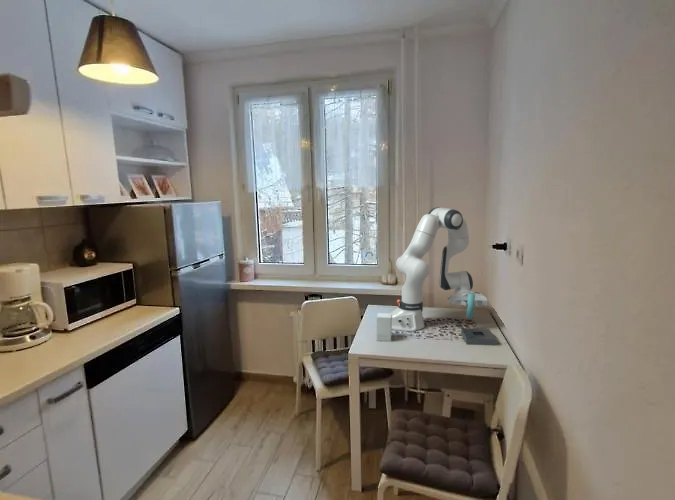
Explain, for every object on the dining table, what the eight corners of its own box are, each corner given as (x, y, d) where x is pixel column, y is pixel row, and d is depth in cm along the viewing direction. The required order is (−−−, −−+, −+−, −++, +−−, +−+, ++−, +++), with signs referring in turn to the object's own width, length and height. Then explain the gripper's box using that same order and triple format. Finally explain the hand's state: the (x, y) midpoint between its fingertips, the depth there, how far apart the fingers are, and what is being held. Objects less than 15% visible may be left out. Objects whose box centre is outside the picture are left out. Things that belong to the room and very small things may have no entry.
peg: (467, 318, 200) (468, 294, 198) (465, 316, 204) (467, 292, 202) (474, 318, 200) (475, 294, 198) (472, 316, 203) (474, 292, 201)
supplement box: (391, 341, 189) (391, 317, 187) (376, 341, 191) (376, 317, 189) (391, 336, 196) (391, 313, 194) (377, 335, 198) (377, 312, 196)
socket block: (466, 344, 184) (466, 338, 184) (461, 333, 198) (461, 328, 198) (496, 345, 183) (496, 339, 182) (488, 334, 196) (489, 329, 196)
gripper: (447, 291, 214) (451, 298, 201) (484, 293, 212) (491, 300, 198) (446, 302, 215) (450, 309, 202) (483, 304, 213) (490, 311, 199)
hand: (471, 305), depth 200 cm, fingers closed on peg, 4 cm apart
